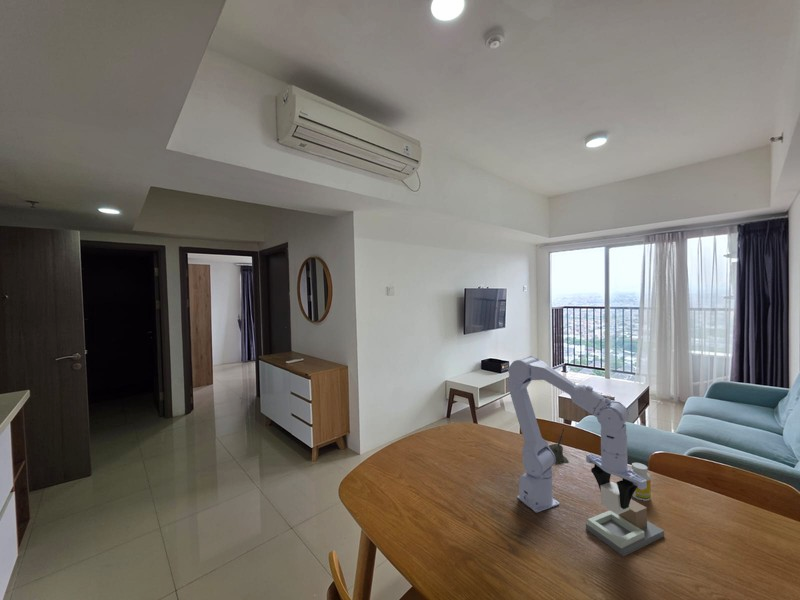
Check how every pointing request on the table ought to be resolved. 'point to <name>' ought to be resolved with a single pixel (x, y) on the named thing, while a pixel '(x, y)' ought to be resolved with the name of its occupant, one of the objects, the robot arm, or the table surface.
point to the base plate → (625, 529)
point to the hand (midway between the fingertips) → (614, 501)
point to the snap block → (612, 498)
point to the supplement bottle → (642, 472)
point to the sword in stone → (558, 451)
